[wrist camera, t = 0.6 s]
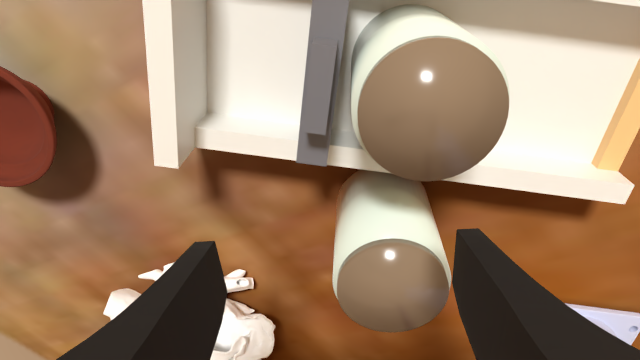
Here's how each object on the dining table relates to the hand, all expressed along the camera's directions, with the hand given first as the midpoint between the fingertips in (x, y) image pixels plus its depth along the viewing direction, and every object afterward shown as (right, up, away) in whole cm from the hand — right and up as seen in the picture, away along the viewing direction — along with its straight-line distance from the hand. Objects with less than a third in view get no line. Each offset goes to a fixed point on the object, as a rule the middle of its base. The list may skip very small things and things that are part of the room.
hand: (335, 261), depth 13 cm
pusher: (0, +8, +6) cm, 10 cm away
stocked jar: (+3, +8, +7) cm, 11 cm away
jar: (+3, +1, +11) cm, 12 cm away
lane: (+4, +8, +7) cm, 12 cm away
